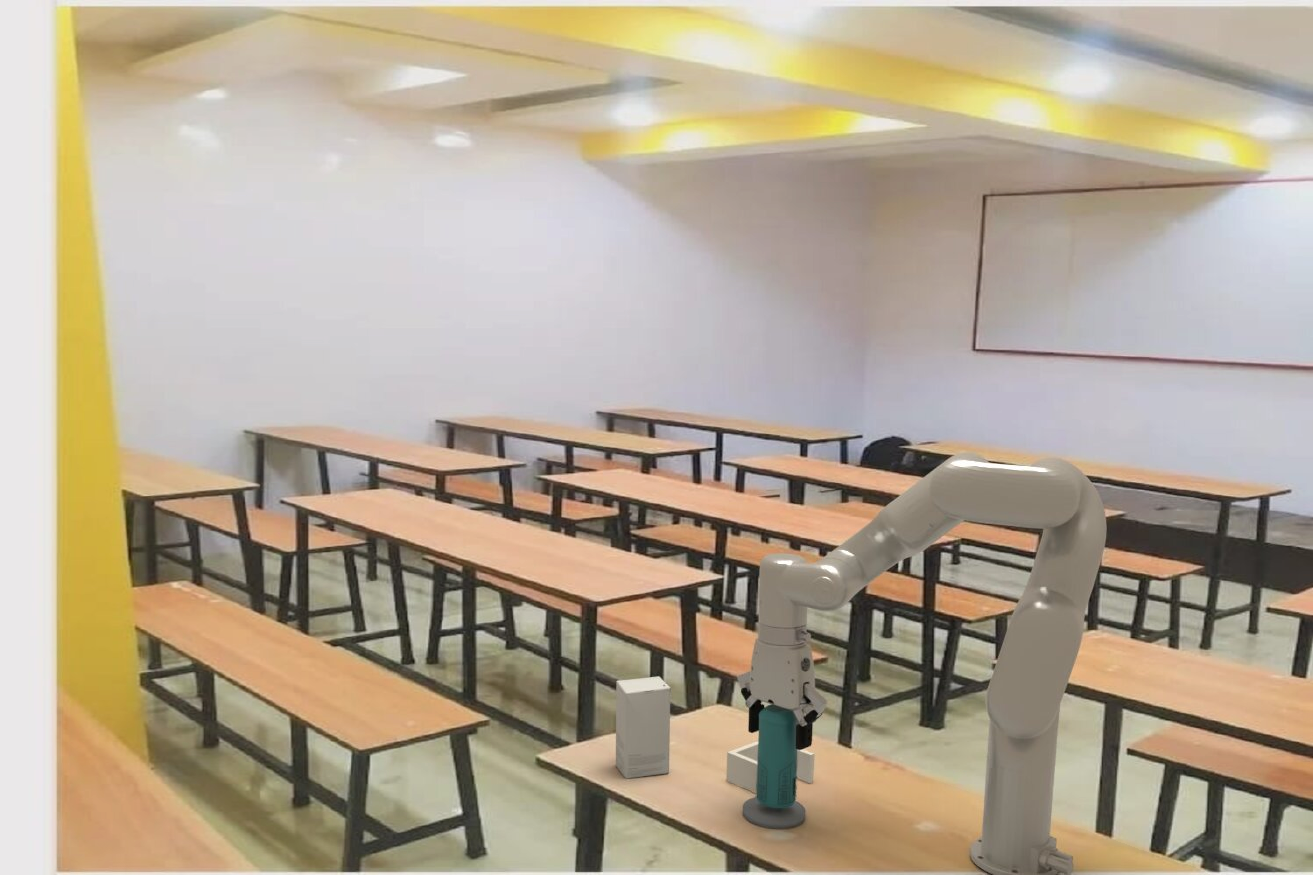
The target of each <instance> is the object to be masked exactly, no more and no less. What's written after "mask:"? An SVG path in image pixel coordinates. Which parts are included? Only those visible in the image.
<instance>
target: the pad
mask: <svg viewBox="0 0 1313 875" xmlns="http://www.w3.org/2000/svg"><path fill="white" fill-rule="evenodd" d="M806 814H807V810H806V808H805V806H804V805H803V804H802V803H800V802H799V801H797V800H795V803H794V804H793V805H792V806H789V807H786V808H772V807H767V806H765V805H762V804H761V803H759V802H758V800H757V797H756V796H755V797H754V796H753V797H751V798H749V799H747V800H745V801H744V803H743V804H742V816H743V818H744V819H745V820H746V821H747V822H749V824H752V825H755V826H757V827H761V828H765V829H771V830H786V829H791V828H792V829H793V828H795V827H796V828H797V827H799V826H801V825H802V824H803V823H804V822H805V821H806V816H807V815H806Z"/></svg>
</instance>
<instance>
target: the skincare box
mask: <svg viewBox="0 0 1313 875" xmlns="http://www.w3.org/2000/svg"><path fill="white" fill-rule="evenodd" d="M615 684H616V685H615V686H616V688H615V689H616V691H615V692H616V696H615V701H616V704H615V707H616V708H615V766H616V767H617V769H618V770H619V772H620V773H621V774H622V775H623V777H624V778H625V779H626V780H627V779H633V778H643V777H649V776H657V775H664V774H669V773H670V743H671V741H670V738H671V737H670V734H671V733H670V732H671V730H670V729H671V691H672V688H671V686H669V685H668V684H667V683H666V681H664V680H663V679H662V677H661V676H659V675H658V676H651V677H642V678H640V677H639V678H632V679H624V680H622V679H621V680H620V679H619V680H616V683H615Z"/></svg>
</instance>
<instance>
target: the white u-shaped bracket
mask: <svg viewBox="0 0 1313 875" xmlns="http://www.w3.org/2000/svg"><path fill="white" fill-rule="evenodd" d="M726 753H727V755H726V773H725V774H726V777H725V778H726V779H725V780H726V782H729V783H732V784H734V785H736V786H738V787H741V788H743V789H745V790H747V791H749V792H752V793H753V794H757V792H756V791H757V790H756V789H757V788H756V783H757V774H756V773H757V768H756V767H757V765H756V764H757V761H758V758H757V756H758V740H757V741H755V742H754V741H753V742H752V743H748V744H746V745H744V746H743V745H742V746H741V747H738V748H735V749H733V750H729V751H727V752H726ZM797 759H798V760H797V761H798V762H797V763H798V766H797V768H798V769H797V775H796V777H797V778H796V780H799V781H802V780H803V782H805V783H808V784H812V783H814V773H815V772H814V771H815V753H814V752H811V751H808V750H806V749H802V750H797Z"/></svg>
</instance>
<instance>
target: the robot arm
mask: <svg viewBox="0 0 1313 875" xmlns="http://www.w3.org/2000/svg"><path fill="white" fill-rule="evenodd" d="M964 521H967V522H974V523H981V524H987V525H988V524H990V525H999V526H1000V525H1001V526H1012V527H1019V528H1029V529H1042V535H1041V539H1040V542H1039V545H1038V549H1037V551H1036V555H1035V558H1034V562H1033V565H1032V568H1031V571H1030V574H1029V577H1028V580H1027V582H1026V586H1025V588H1024V589H1023V590H1024V591H1023V592H1022V595H1021V596H1020V599H1019V600H1018V601H1017V604H1016V606H1015V607H1014V609H1013V613H1012V614H1011V618H1010V620H1009V623H1008V626H1007V630H1006V632H1005V636H1004V638H1003V642H1002V643H1001V644H1002V645H1001V648H1000V651H999V654H998V657H997V660H996V662H995V666H994V669H993V672H992V675H991V678H990V681H989V683H988V687H987V689H986V693H985V699H984V703H985V704H984V705H985V710H986V713H987V717H988V718H989V724H988V726H989V727H988V739H987V750H986V751H987V752H986V762H985V763H986V768H985V779H984V780H985V783H984V796H983V797H984V798H983V799H984V800H983V812H982V813H983V814H982V825H981V826H982V827H981V829H982V830H981V837H979V838H977V839H976V840H974V841H973V842H972V843H971V844H970V847H969V856H970V859H971V861H972V862H973V863H974V864H975V865H976V866H977V867H978V868H980V869H981V870H983V871H984V872H986V873H989V874H991V875H1057V874H1058V873H1061V874H1063V875H1072V874H1073V871H1074V868H1075V867H1074V862H1073V861H1074V857H1073V855H1071V854H1069V853H1066V852H1062V851H1059V849H1058V848H1057V841H1058V840H1057V838H1056V837H1053V836H1051V826H1052V812H1053V799H1054V798H1053V797H1054V783H1055V771H1056V770H1055V768H1056V761H1057V760H1056V759H1057V747H1058V734H1059V730H1058V729H1059V723H1060V720H1059V719H1060V712H1061V703H1062V700H1063V697H1064V694H1065V692H1066V689H1067V686H1068V682H1069V680H1070V678H1071V674H1072V671H1073V669H1074V666H1075V663H1076V661H1077V660H1076V659H1077V657H1078V654H1079V651H1080V648H1081V644H1082V639H1083V635H1084V634H1083V633H1084V627H1085V615H1086V611H1087V607H1088V604H1089V601H1090V598H1091V595H1092V592H1093V589H1094V586H1095V582H1096V579H1097V575H1098V571H1099V568H1100V566H1101V562H1102V558H1103V554H1104V550H1105V547H1106V540H1107V517H1106V510H1105V508H1104V503H1103V500H1102V499H1101V495H1100V494H1099V492H1098V490H1097V488H1096V487H1095V486H1094V484H1093V483H1092V481H1091V480H1090V479H1089V478H1088V476H1087V475H1086V474H1085V473H1084V472H1083V471H1082V470H1080V468H1078V466H1076V465H1074V464H1073V463H1072V462H1069V461H1067V460H1065V459H1062V458H1057V457H1047V458H1042V459H1039V460H1038V461H1035V462H1033V463H1032V464H1031V465H1020V464H1019V465H1018V464H1004V463H996V462H995V463H993V462H989V461H988V460H987V459H986V458H985V457H984V456H982V455H980V454H978V453H974V452H970V451H969V452H968V451H967V452H966V451H964V452H959V453H956V454H954V455H951V456H950V457H948V458H947V459H946V460H944V461H943V462H942V463H941V464H940V465H938V466H936V468H934V469H932V471H930V472H929V473H928V474H926V475H925V476H923V477H922V478H921V479H920V480H919V481H918V482H916V483H914V484H913V485H912V486H911V487H909V488H908V489H907V490H905V491H904V492H903V493H901V494H899V496H898V497H896V498H895V499H894V500H892V501H891V502H889V503H888V504H887V505H885V507H883V508H882V509H881V510H880V511H879V512H878V513H877V514H876V516H875V517H874V518H873V519H872V520H871V521H869V523H867V524H866V525H865V526H864V527H862V528H861V529H859V530H858V531H857V532H856V533H854V534H853V535H852V536H851V537H849V538H848V539H846V540H845V541H844V542H843V543H842V544H840V545H838V546H837V547H836V548H834V549H833V550H831V552H829V553H827V554H826V555H825V556H824V557H822V558H821V559H820V560H818V561H815V562H807V561H808V560H806V558H805V557H803V556H801V555H798V554H796V553H795V554H794V553H786V552H780V553H779V552H778V553H769V554H766V555H764V557H762V558H761V560H760V562H759V578H758V579H759V581H758V583H759V584H758V586H759V587H758V624H757V626H758V627H757V631H758V632H757V637H756V638H755V639H754V640H755V641H754V645H753V649H752V650H753V651H752V654H751V662H750V663H751V664H750V671H748V672H744V673H742V674H739V675H738V676H737V678H736V679H737V682H738V685H739V687H740V694H741V696H742V697H743V699H744V700H745V706H746V708H748V725H747V726H748V728H747V729H748V733H751V734H754V733H756V732H759V713H760V711H761V710H762V709H764V708H765V707H766V706H765V704H763V702H764V703H767V704H769V705H771V704H772V703H769V702H768V700H769V699H770V700H772V701H773V702H774V704H772V705H775V706H778V707H781V708H784V709H788V710H792V711H793V712H794V714H795V715H796V717H797V719H798V725H797V726H796V749H797V750H802V749H803V750H806V749H807V748H809V747H811V746H812V743H813V726H814V725H813V724H814V723H815V722H816V721H817V720H818V719H819V718H820V717H822V715H823V713H824V710H825V708H826V706H827V705H828V701H827V700H826V698H825V697H823V696H822V695H821V693H819V691H817V689H816V678H815V676H816V675H815V662H814V656H813V650H812V646H811V644H809V643H807V642H810V640H811V639H812V635H811V633H810V632H807V629H808V628H807V627H808V626H807V625H808V623H807V622H808V608H809V609H812V610H817V611H819V612H825V613H826V612H828V613H829V612H836V611H838V610H840V609H842V608H844V607H845V606H846V605H847V603H849V602H850V601H851V600H852V599H853V597H854V596H855V595H857V594H858V593H859V592H860V591H862V590H863V589H864V588H865V587H866V586H867V585H869V584H870V583H871V582H873V581H874V580H876V579H877V578H878V577H880V576H882V574H884V573H886V571H888V570H889V569H890V568H892V567H893V566H895V565H896V564H898V563H899V562H901V561H903V560H905V559H907V558H912V557H915V556H917V555H918V554H920V553H923V552H924V551H926V549H928V548H929V547H931V546H932V545H933V544H935V543H936V542H937V541H938V540H940V539H941V538H942V537H944V536H946V535H947V534H948V533H949V532H951V531H952V530H954V529H955V528H956V527H957V526H959V525H960V524H961V523H963V522H964ZM811 706H813V707H811Z"/></svg>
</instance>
